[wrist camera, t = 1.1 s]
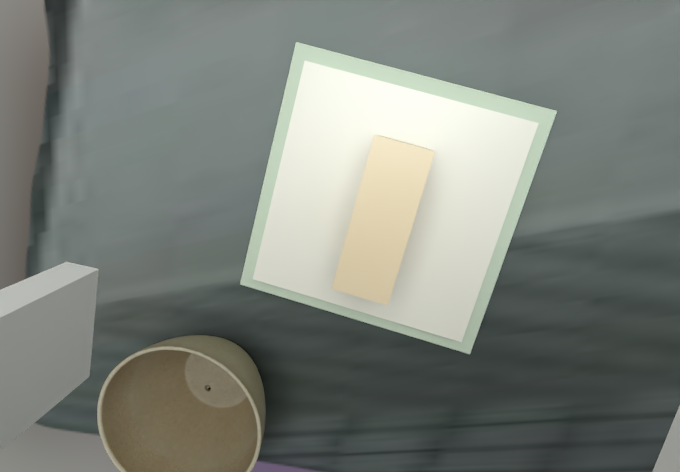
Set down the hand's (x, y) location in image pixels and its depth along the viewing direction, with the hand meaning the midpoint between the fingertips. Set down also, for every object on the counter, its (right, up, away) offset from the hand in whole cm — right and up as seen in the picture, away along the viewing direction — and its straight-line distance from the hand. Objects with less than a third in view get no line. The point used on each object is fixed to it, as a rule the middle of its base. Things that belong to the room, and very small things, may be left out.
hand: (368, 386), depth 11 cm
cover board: (+2, +5, +20) cm, 21 cm away
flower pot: (-9, -6, +24) cm, 27 cm away
